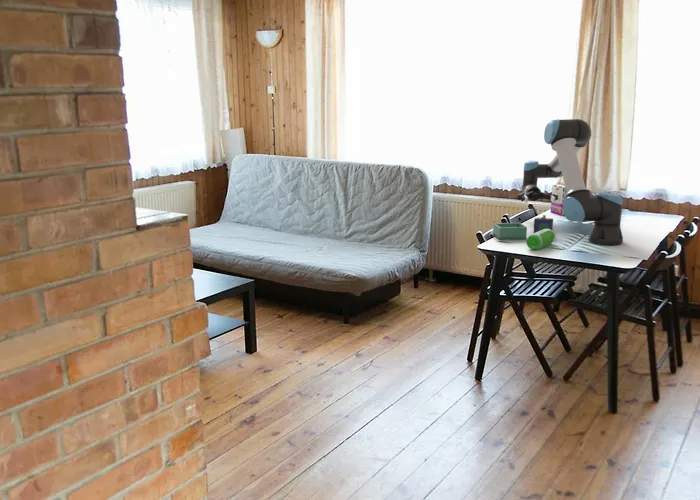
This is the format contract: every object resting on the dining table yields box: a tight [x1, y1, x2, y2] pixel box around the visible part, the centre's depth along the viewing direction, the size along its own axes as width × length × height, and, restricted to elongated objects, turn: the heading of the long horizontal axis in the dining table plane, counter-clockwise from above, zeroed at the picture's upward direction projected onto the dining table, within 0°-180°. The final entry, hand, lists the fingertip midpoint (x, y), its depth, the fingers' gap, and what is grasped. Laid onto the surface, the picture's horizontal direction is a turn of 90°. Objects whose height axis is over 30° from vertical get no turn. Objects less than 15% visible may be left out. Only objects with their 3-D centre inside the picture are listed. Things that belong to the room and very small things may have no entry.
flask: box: [533, 214, 554, 233], centre depth 324 cm, size 9×3×11 cm, turn 87°
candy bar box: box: [550, 183, 567, 216], centre depth 377 cm, size 11×5×16 cm, turn 17°
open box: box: [492, 222, 528, 241], centre depth 323 cm, size 10×13×6 cm
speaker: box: [526, 229, 556, 250], centre depth 304 cm, size 18×7×8 cm, turn 140°
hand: (540, 200), depth 331 cm, fingers open, 13 cm apart
